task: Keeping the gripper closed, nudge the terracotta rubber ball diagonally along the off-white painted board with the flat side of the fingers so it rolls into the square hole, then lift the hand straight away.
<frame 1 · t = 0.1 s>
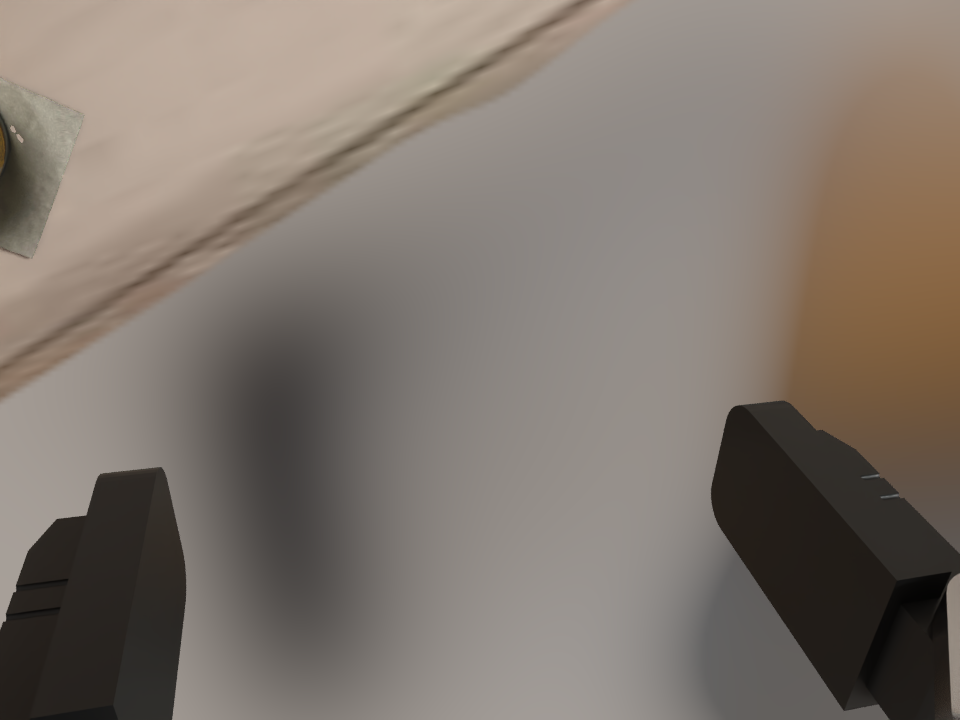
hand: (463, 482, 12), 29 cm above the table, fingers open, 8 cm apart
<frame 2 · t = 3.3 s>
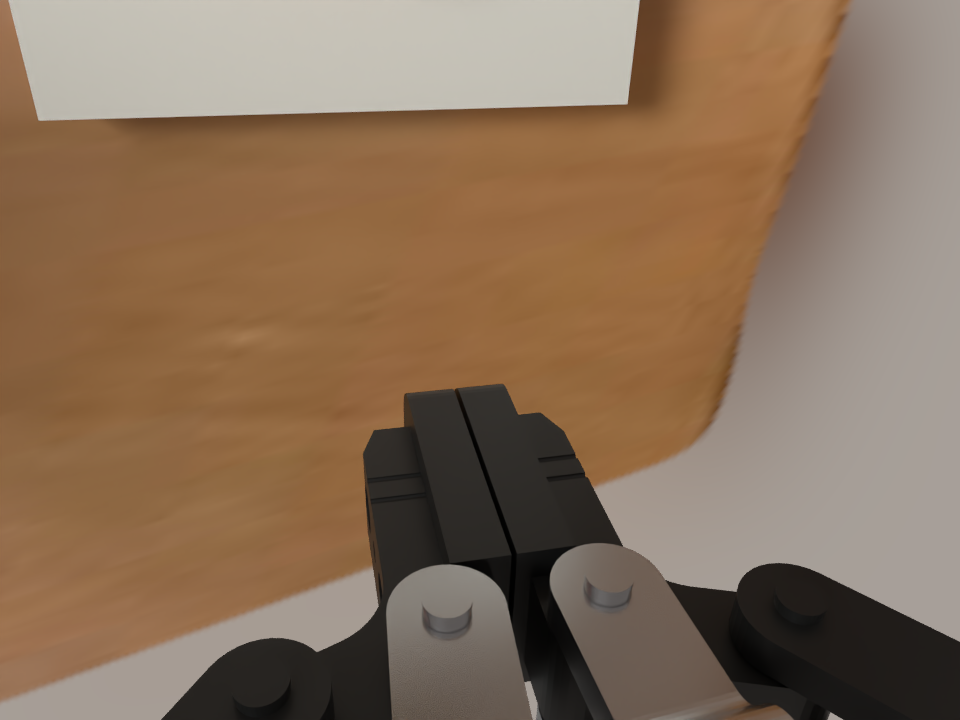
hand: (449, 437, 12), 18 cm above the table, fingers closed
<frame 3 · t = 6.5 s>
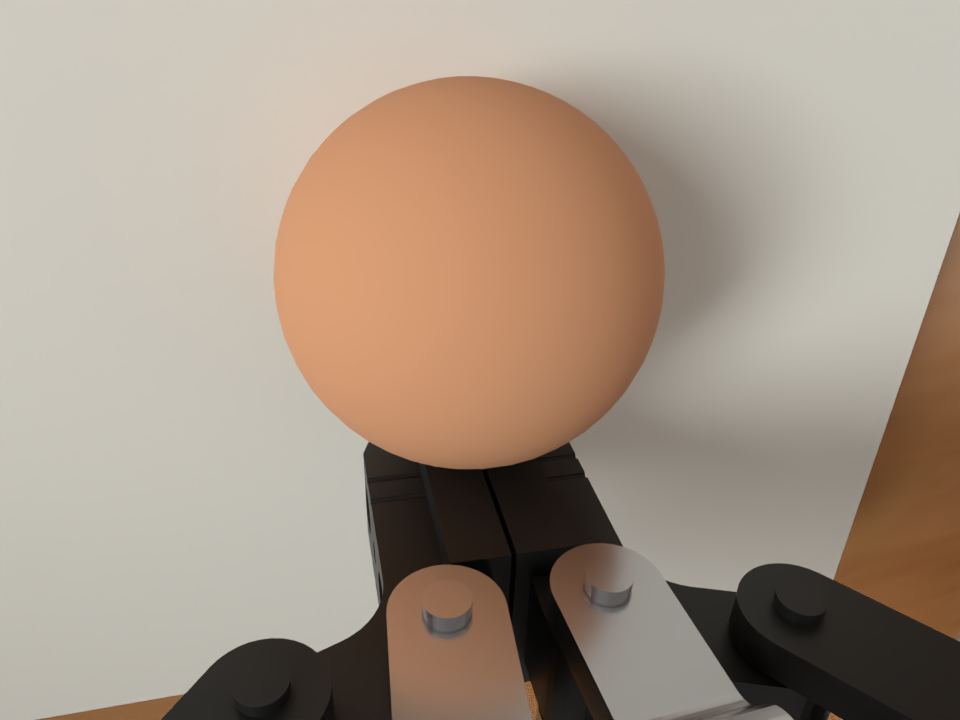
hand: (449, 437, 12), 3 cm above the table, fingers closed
ball: (469, 277, 10), point 5 cm above the table, tilted 59°, touching gripper, hole board
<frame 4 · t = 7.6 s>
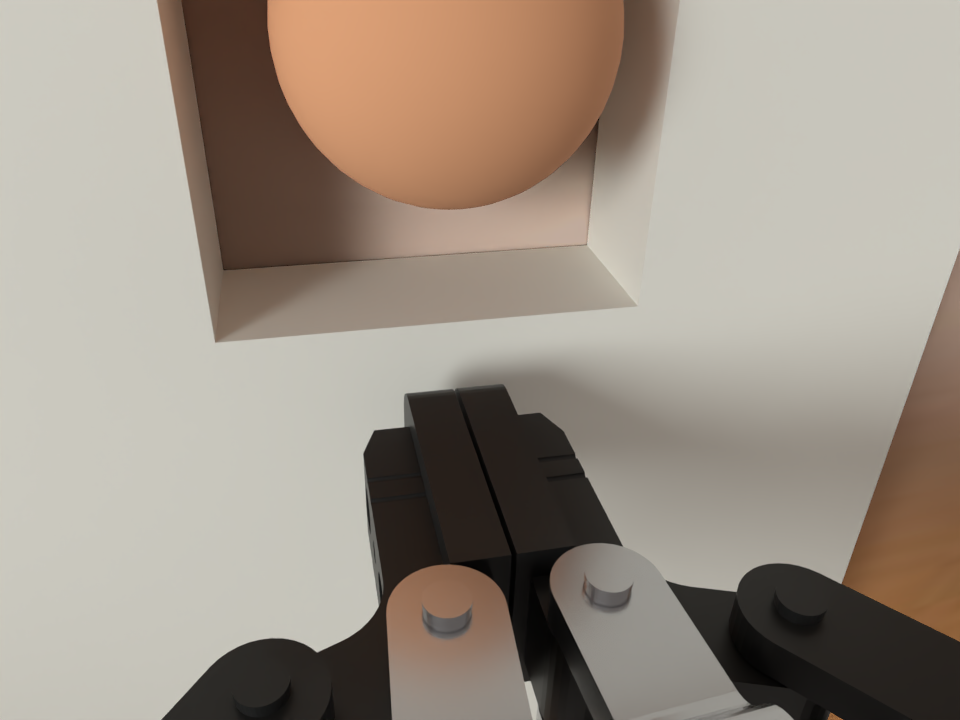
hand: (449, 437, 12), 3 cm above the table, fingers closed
hole board: (414, 319, 15), on the table
ball: (447, 32, 10), point 2 cm above the table, tilted 98°
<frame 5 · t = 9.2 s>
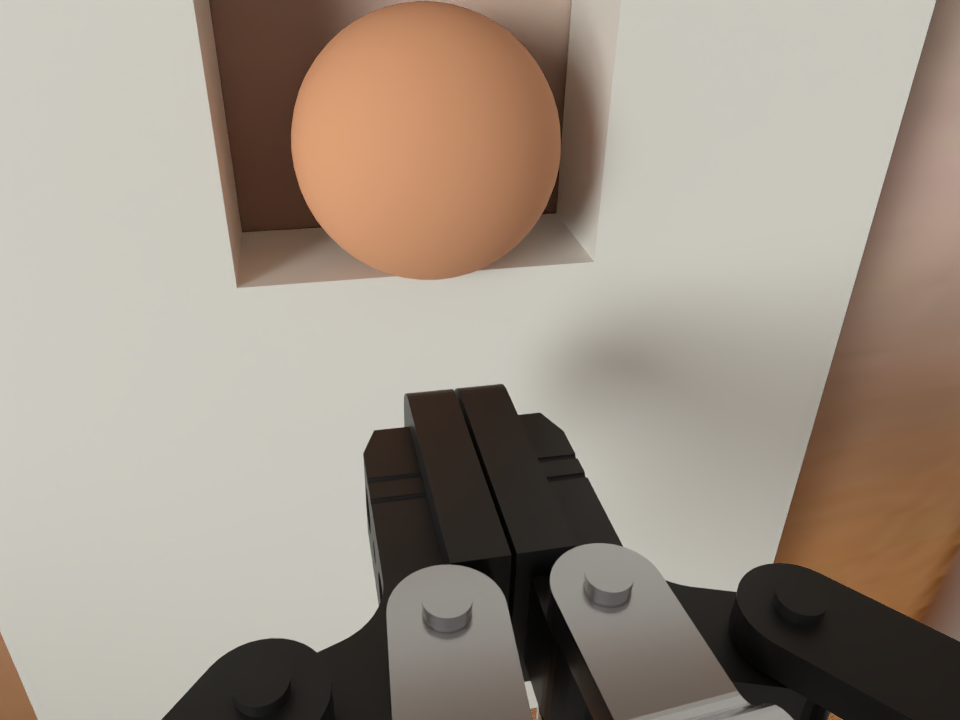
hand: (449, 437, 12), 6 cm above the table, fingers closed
hole board: (406, 277, 17), on the table
ball: (427, 146, 14), point 2 cm above the table, tilted 145°
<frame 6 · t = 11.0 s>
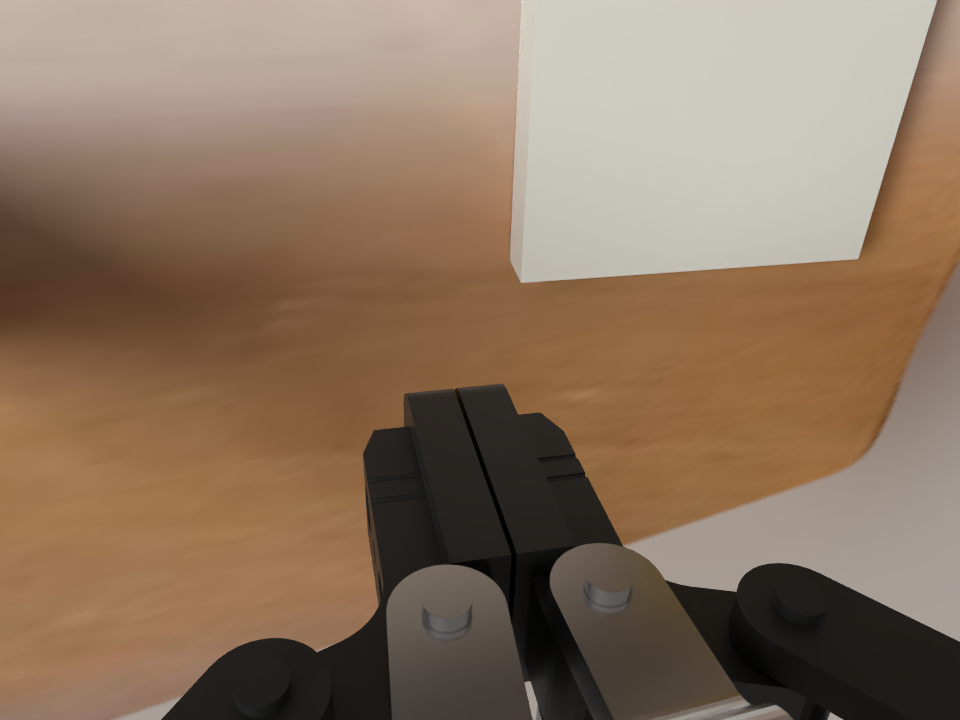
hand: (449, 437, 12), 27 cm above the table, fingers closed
hole board: (717, 3, 36), on the table
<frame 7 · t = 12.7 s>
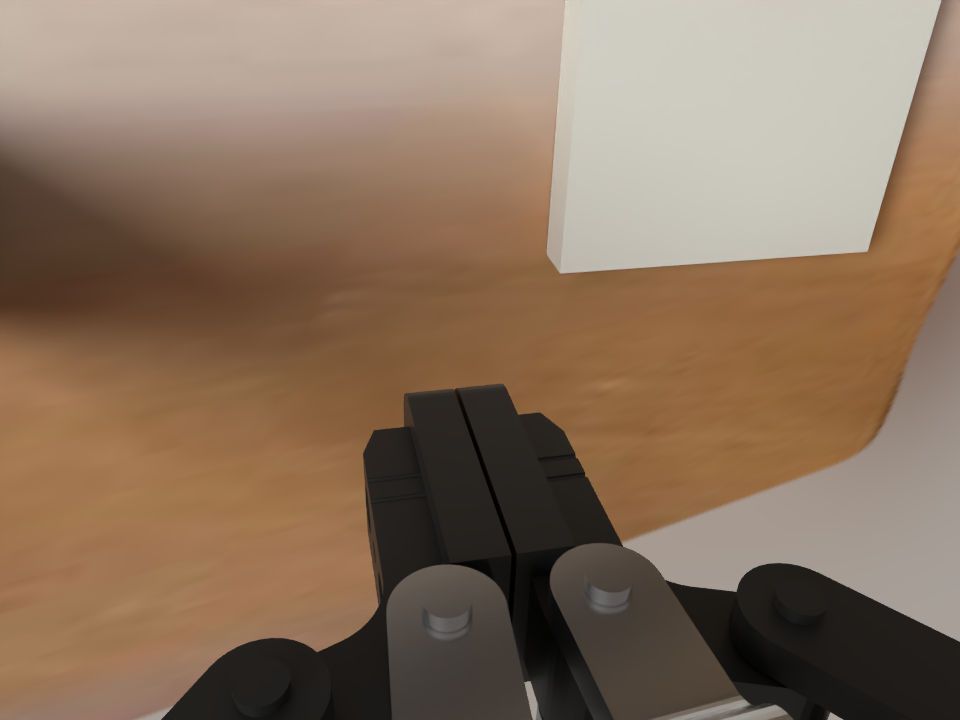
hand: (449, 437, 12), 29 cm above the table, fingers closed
hole board: (740, 15, 40), on the table
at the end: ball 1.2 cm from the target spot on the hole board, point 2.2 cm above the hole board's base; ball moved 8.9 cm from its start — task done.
